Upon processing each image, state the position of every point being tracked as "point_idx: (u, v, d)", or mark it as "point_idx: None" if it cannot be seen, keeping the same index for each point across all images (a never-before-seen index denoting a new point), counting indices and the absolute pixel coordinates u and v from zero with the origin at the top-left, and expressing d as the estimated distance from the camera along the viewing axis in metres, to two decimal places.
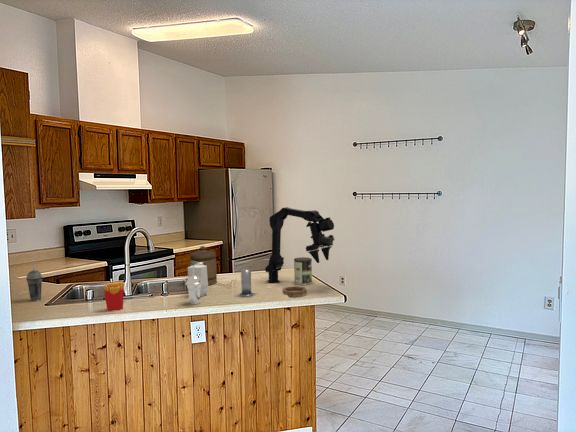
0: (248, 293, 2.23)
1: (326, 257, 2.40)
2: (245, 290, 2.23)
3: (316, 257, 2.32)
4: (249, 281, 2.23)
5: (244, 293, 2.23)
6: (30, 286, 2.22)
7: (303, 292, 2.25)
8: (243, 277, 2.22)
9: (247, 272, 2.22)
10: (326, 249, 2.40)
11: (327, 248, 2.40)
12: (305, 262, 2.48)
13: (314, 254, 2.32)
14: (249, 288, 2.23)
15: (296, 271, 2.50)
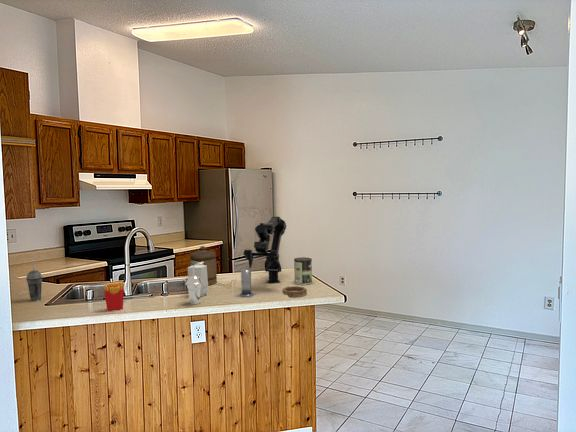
0: (248, 293, 2.23)
1: None
2: (245, 290, 2.23)
3: None
4: (249, 281, 2.23)
5: (244, 293, 2.23)
6: (30, 286, 2.22)
7: (303, 292, 2.25)
8: (243, 277, 2.22)
9: (247, 272, 2.22)
10: None
11: None
12: (305, 262, 2.48)
13: None
14: (249, 288, 2.23)
15: (296, 271, 2.50)
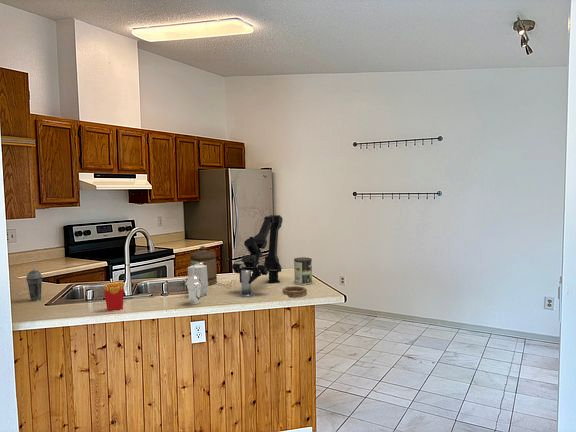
0: (248, 293, 2.23)
1: None
2: (245, 290, 2.23)
3: None
4: None
5: (244, 293, 2.23)
6: (30, 286, 2.22)
7: (303, 292, 2.25)
8: (243, 277, 2.22)
9: (247, 272, 2.22)
10: None
11: None
12: (305, 262, 2.48)
13: None
14: (249, 288, 2.23)
15: (296, 271, 2.50)
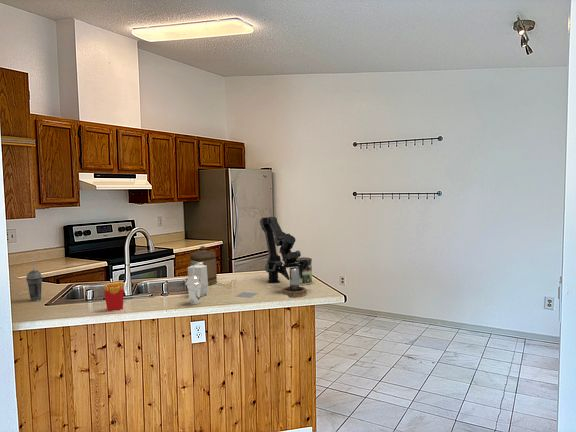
0: (298, 290, 2.28)
1: (300, 275, 2.29)
2: (297, 288, 2.27)
3: (285, 274, 2.27)
4: (298, 278, 2.28)
5: None
6: (30, 286, 2.22)
7: (303, 292, 2.25)
8: (295, 275, 2.26)
9: (298, 270, 2.27)
10: (299, 268, 2.32)
11: (299, 266, 2.31)
12: None
13: (283, 272, 2.28)
14: None
15: None
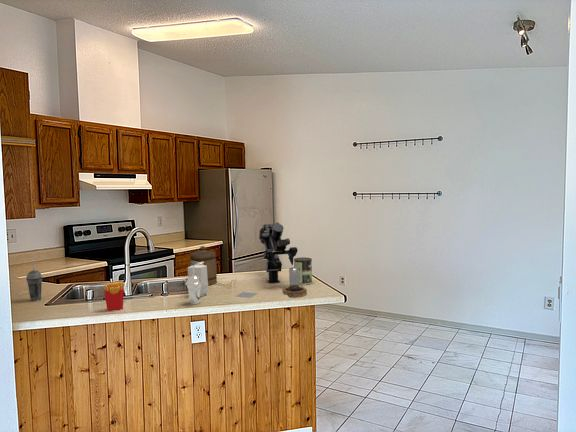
0: (298, 290, 2.28)
1: (291, 262, 2.39)
2: (297, 288, 2.27)
3: (273, 261, 2.36)
4: (298, 278, 2.28)
5: None
6: (30, 286, 2.22)
7: (303, 292, 2.25)
8: (295, 275, 2.26)
9: (298, 270, 2.27)
10: (290, 255, 2.41)
11: (290, 253, 2.41)
12: (305, 262, 2.48)
13: (272, 259, 2.38)
14: (298, 285, 2.29)
15: None
